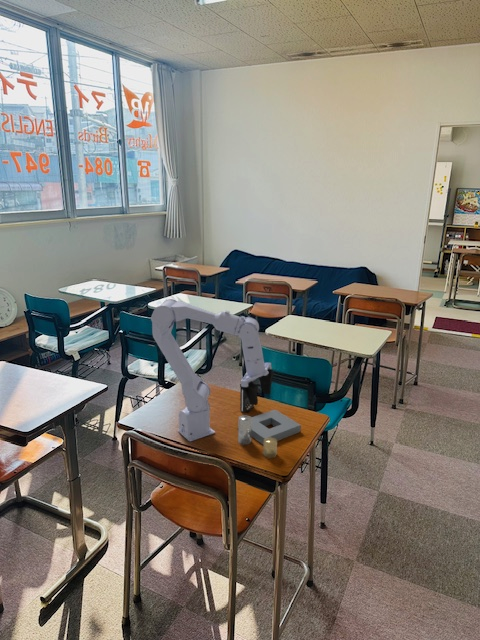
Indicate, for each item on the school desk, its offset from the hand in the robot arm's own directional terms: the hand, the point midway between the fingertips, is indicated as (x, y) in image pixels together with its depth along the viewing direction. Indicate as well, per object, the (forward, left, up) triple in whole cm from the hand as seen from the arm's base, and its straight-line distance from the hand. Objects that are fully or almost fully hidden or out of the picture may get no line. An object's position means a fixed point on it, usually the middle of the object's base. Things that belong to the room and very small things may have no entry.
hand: (260, 398), depth 136 cm
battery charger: (+8, +18, -13) cm, 24 cm away
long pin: (-6, +1, -13) cm, 14 cm away
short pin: (-4, -9, -13) cm, 17 cm away
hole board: (+5, +2, -13) cm, 14 cm away
